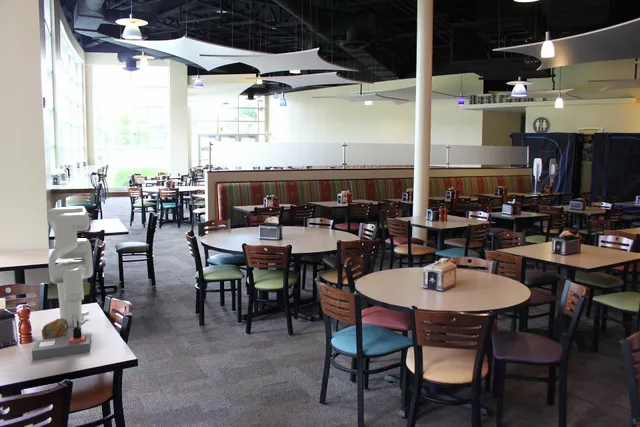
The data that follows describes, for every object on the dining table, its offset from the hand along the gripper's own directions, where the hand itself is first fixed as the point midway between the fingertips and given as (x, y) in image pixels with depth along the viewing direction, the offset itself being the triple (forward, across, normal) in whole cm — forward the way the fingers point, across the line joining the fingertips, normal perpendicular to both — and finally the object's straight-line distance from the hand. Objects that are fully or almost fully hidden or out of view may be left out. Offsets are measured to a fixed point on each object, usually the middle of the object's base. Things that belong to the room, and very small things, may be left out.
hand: (77, 337), depth 237 cm
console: (+5, 0, -6) cm, 8 cm away
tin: (+5, -19, -11) cm, 23 cm away
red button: (+4, 0, 0) cm, 4 cm away
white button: (+5, 0, -12) cm, 13 cm away
